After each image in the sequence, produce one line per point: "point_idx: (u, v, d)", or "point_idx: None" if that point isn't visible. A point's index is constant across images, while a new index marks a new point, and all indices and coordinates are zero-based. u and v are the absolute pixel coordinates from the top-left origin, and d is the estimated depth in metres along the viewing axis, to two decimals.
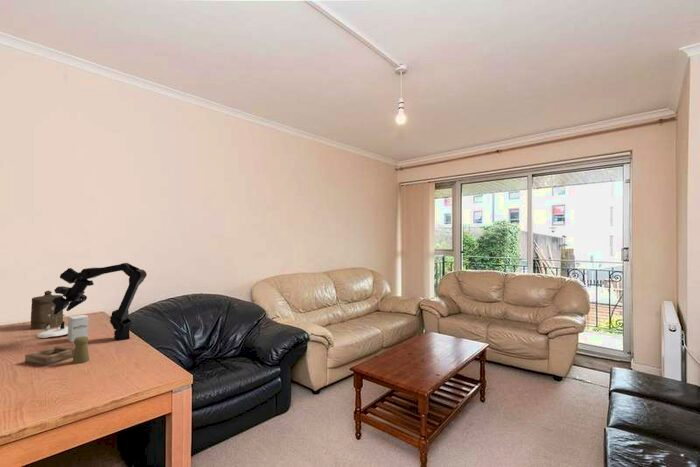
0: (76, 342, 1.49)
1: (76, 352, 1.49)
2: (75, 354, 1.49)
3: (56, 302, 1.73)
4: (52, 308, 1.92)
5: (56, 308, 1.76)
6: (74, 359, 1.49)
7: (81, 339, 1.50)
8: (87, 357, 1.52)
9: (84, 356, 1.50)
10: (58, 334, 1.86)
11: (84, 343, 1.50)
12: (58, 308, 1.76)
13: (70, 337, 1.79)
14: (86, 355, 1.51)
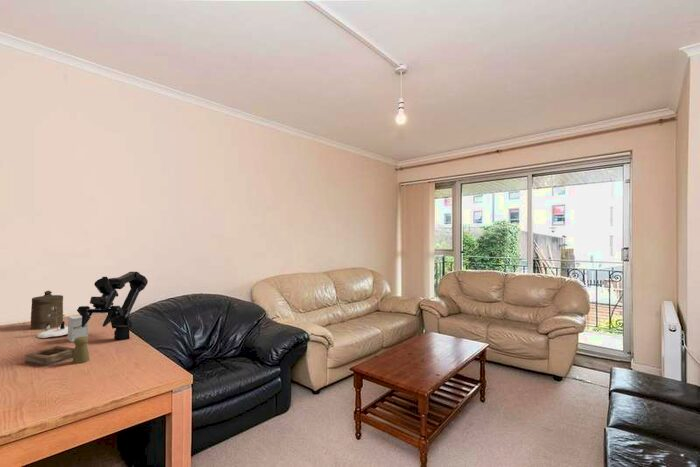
0: (76, 342, 1.49)
1: (76, 352, 1.49)
2: (75, 354, 1.49)
3: (120, 310, 1.66)
4: (52, 308, 1.92)
5: (109, 318, 1.63)
6: (74, 359, 1.49)
7: (81, 339, 1.50)
8: (87, 357, 1.52)
9: (84, 356, 1.50)
10: (58, 334, 1.86)
11: (84, 343, 1.50)
12: (110, 318, 1.64)
13: (70, 337, 1.79)
14: (86, 355, 1.51)
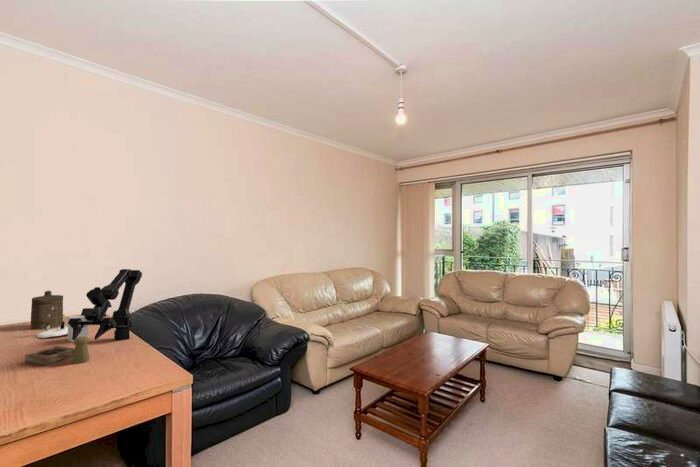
0: (76, 342, 1.49)
1: (76, 352, 1.49)
2: (75, 354, 1.49)
3: (113, 322, 1.60)
4: (52, 308, 1.92)
5: (101, 331, 1.56)
6: (74, 359, 1.49)
7: (81, 339, 1.50)
8: (87, 357, 1.52)
9: (84, 356, 1.50)
10: (58, 334, 1.86)
11: (84, 343, 1.50)
12: (102, 331, 1.57)
13: (70, 337, 1.79)
14: (86, 355, 1.51)
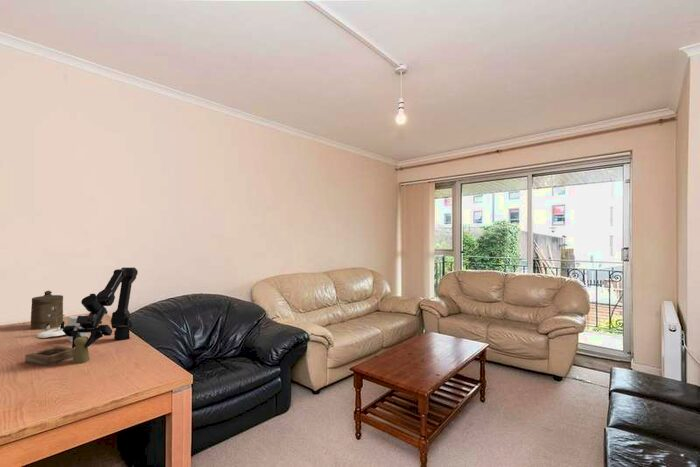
0: (76, 342, 1.49)
1: (76, 352, 1.49)
2: (75, 354, 1.49)
3: (109, 329, 1.57)
4: (52, 308, 1.92)
5: (92, 339, 1.53)
6: (74, 359, 1.49)
7: (81, 339, 1.50)
8: (87, 357, 1.52)
9: (84, 356, 1.50)
10: (58, 334, 1.86)
11: (84, 343, 1.50)
12: (93, 339, 1.54)
13: (70, 337, 1.79)
14: (86, 355, 1.51)
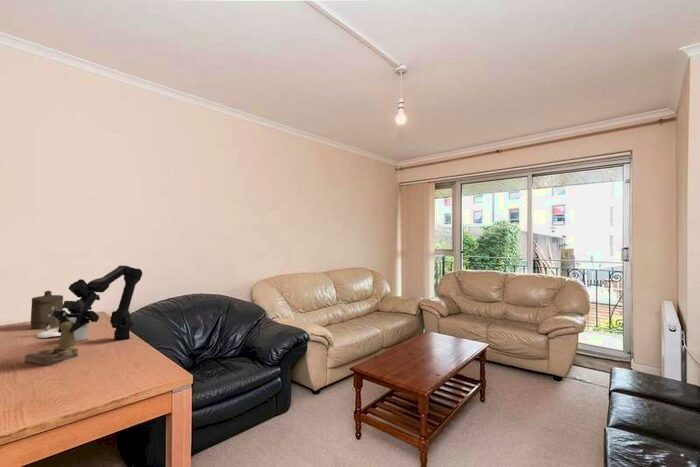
0: (61, 327, 1.49)
1: (61, 337, 1.49)
2: (60, 339, 1.49)
3: (94, 316, 1.55)
4: (52, 308, 1.92)
5: (77, 324, 1.52)
6: (59, 344, 1.49)
7: (66, 324, 1.50)
8: (72, 342, 1.51)
9: (68, 341, 1.50)
10: (58, 334, 1.86)
11: (69, 328, 1.50)
12: (79, 324, 1.53)
13: None
14: (71, 340, 1.51)
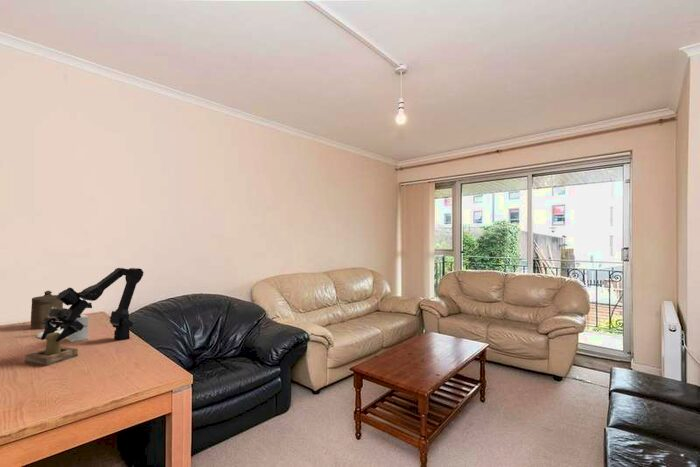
0: (46, 338, 1.51)
1: (46, 348, 1.51)
2: (45, 350, 1.52)
3: (77, 325, 1.55)
4: (52, 308, 1.92)
5: (64, 333, 1.53)
6: None
7: (50, 335, 1.52)
8: None
9: (52, 352, 1.51)
10: None
11: (53, 339, 1.52)
12: (66, 333, 1.54)
13: (70, 337, 1.79)
14: (55, 351, 1.52)
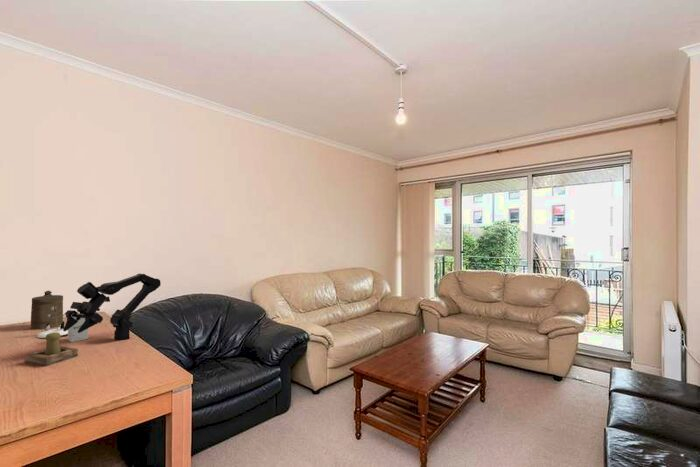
0: (46, 338, 1.51)
1: (46, 348, 1.51)
2: (45, 349, 1.52)
3: (97, 317, 1.64)
4: (52, 308, 1.92)
5: (85, 325, 1.62)
6: None
7: (50, 335, 1.52)
8: None
9: (52, 352, 1.51)
10: None
11: (53, 339, 1.52)
12: (87, 325, 1.63)
13: (70, 337, 1.79)
14: (55, 351, 1.52)
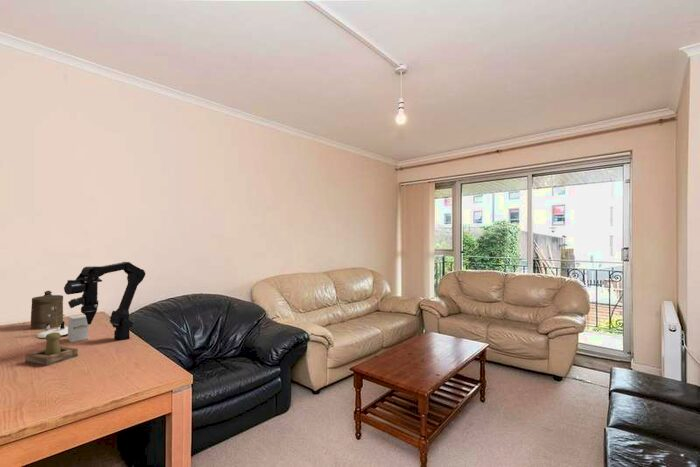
0: (46, 338, 1.51)
1: (46, 348, 1.51)
2: (45, 350, 1.52)
3: (87, 309, 1.61)
4: (52, 308, 1.92)
5: (88, 317, 1.64)
6: None
7: (50, 335, 1.51)
8: None
9: (52, 352, 1.51)
10: None
11: (53, 339, 1.52)
12: (90, 316, 1.65)
13: (70, 337, 1.79)
14: (55, 352, 1.52)
